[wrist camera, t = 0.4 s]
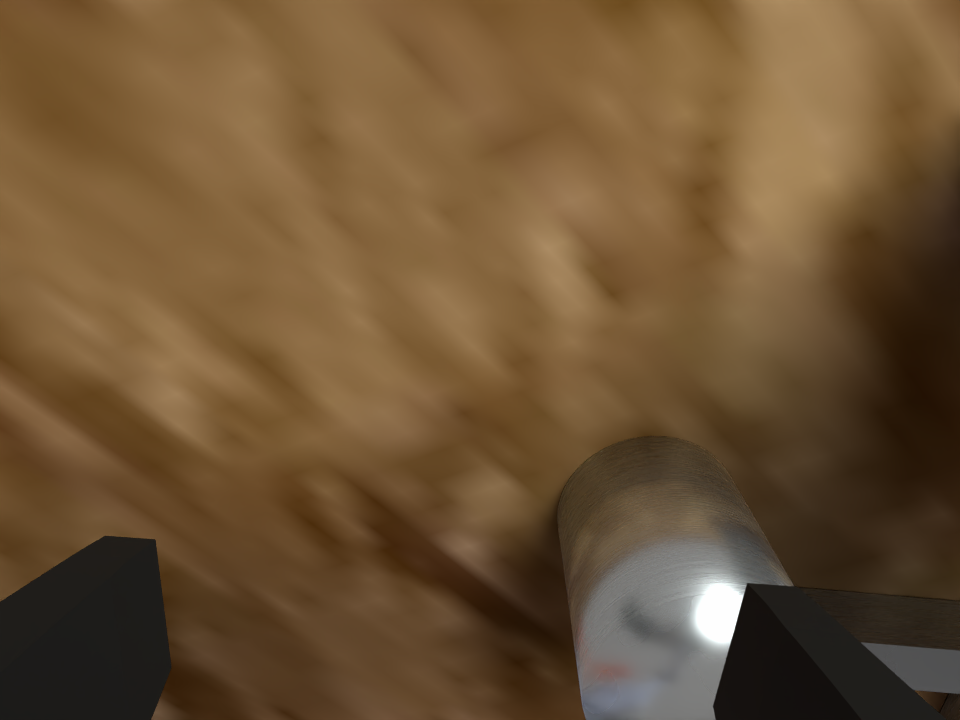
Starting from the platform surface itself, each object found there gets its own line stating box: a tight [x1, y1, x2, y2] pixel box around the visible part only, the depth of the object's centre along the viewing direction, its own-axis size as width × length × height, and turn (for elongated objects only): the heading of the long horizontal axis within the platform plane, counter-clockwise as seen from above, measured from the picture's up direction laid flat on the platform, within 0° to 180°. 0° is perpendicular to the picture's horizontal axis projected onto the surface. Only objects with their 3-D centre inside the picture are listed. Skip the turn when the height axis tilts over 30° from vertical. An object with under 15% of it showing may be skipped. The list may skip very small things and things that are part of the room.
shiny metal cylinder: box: [557, 436, 794, 720], centre depth 17 cm, size 5×5×6 cm
